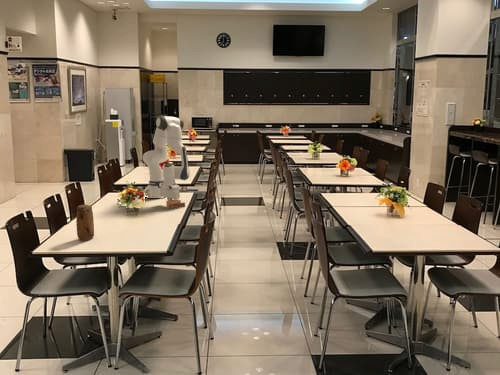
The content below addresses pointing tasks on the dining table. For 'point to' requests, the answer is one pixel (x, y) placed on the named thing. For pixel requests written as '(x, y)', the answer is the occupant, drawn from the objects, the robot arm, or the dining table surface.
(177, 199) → the orange block
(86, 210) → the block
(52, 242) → the dining table surface
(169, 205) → the walnut board
